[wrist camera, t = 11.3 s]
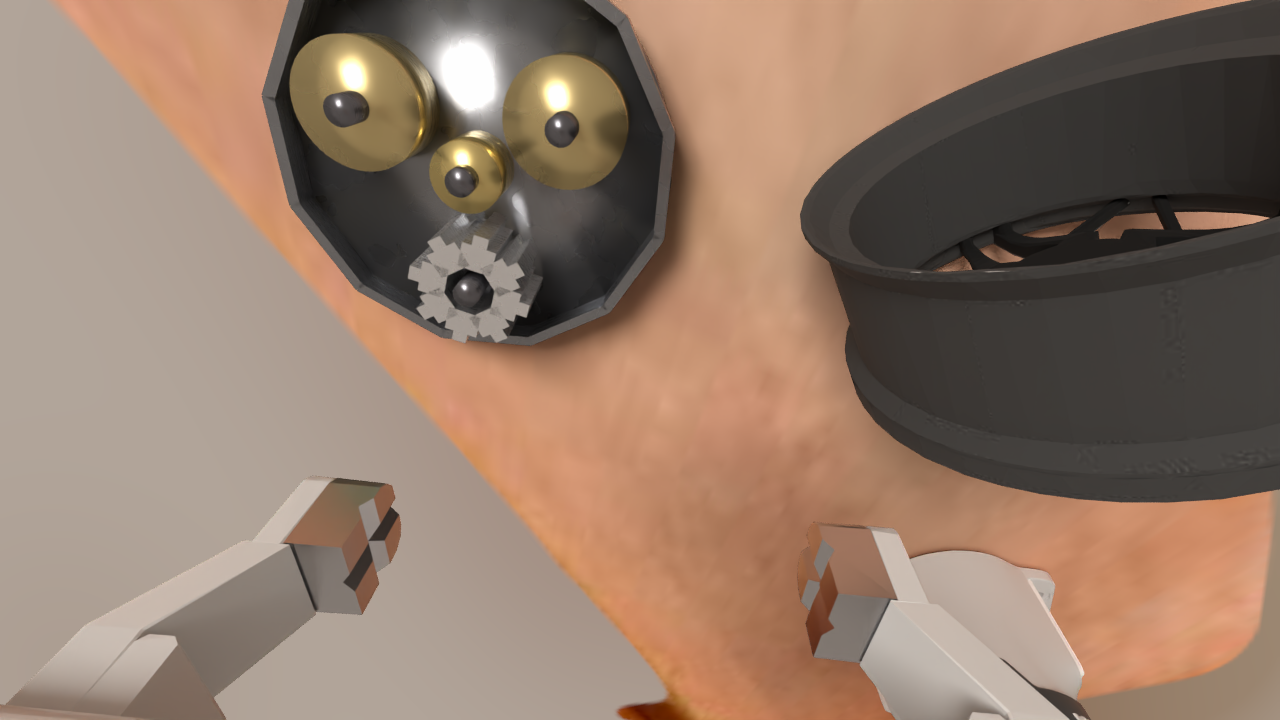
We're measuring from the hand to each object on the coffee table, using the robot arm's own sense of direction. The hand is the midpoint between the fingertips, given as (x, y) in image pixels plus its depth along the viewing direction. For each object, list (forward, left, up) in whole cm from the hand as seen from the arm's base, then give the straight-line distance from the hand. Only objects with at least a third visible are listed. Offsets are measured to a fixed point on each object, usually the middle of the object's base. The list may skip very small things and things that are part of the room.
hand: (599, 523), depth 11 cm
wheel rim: (-7, -17, -25) cm, 31 cm away
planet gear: (0, +10, -24) cm, 26 cm away
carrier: (+5, +7, -25) cm, 26 cm away
